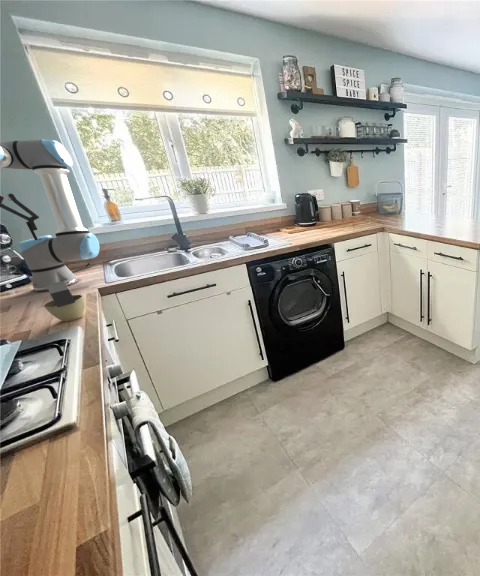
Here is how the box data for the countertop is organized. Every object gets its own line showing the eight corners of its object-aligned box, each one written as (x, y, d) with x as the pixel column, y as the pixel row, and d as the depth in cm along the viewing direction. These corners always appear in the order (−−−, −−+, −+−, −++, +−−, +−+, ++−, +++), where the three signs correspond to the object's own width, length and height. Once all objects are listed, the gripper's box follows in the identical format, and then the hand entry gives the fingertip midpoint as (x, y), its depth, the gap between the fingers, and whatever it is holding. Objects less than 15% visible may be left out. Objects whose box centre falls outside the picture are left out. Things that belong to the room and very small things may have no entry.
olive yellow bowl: (53, 319, 111) (44, 301, 108) (90, 309, 117) (81, 292, 115) (53, 328, 104) (42, 309, 102) (91, 317, 111) (83, 299, 108)
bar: (53, 298, 111) (46, 285, 109) (70, 293, 114) (63, 281, 112) (57, 307, 102) (50, 293, 100) (75, 302, 105) (68, 289, 104)
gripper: (-94, 184, 89) (-50, 254, 98) (29, 176, 107) (58, 237, 115) (-89, 184, 94) (-47, 251, 102) (28, 177, 111) (56, 235, 119)
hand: (9, 244), depth 108 cm, fingers open, 13 cm apart
